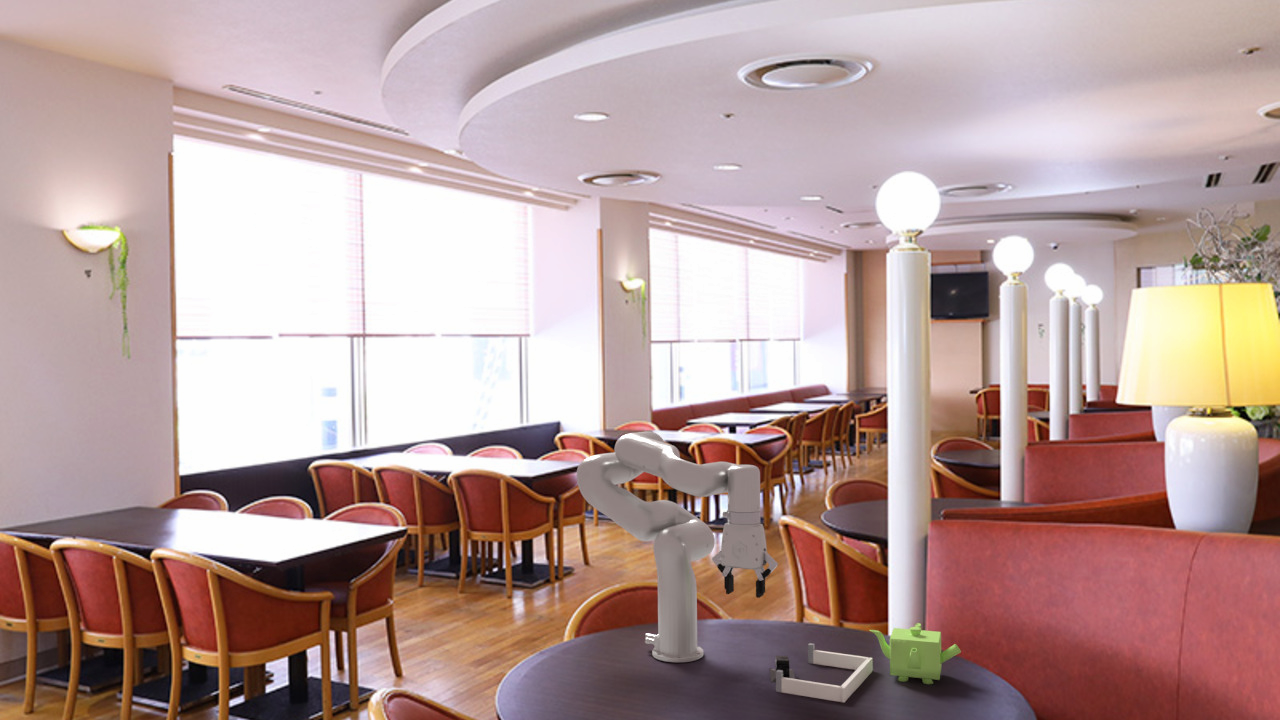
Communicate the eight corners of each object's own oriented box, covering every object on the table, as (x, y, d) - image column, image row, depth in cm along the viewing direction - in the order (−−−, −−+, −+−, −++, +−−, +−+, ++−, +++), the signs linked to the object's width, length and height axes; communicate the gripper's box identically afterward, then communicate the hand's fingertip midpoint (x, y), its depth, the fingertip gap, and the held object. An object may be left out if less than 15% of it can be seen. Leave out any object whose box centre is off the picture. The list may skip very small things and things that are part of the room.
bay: (776, 691, 208) (775, 671, 208) (809, 661, 228) (809, 643, 228) (844, 702, 201) (844, 681, 201) (872, 670, 221) (872, 651, 221)
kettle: (868, 672, 220) (868, 624, 220) (915, 663, 226) (915, 616, 226) (915, 692, 207) (914, 640, 207) (963, 682, 213) (963, 631, 213)
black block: (800, 688, 212) (800, 667, 212) (767, 687, 213) (767, 666, 213) (795, 669, 224) (795, 649, 224) (764, 669, 225) (764, 649, 225)
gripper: (703, 517, 224) (704, 594, 224) (773, 523, 215) (774, 602, 215) (716, 513, 230) (716, 587, 230) (785, 518, 222) (785, 595, 222)
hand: (744, 594), depth 223 cm, fingers open, 6 cm apart
